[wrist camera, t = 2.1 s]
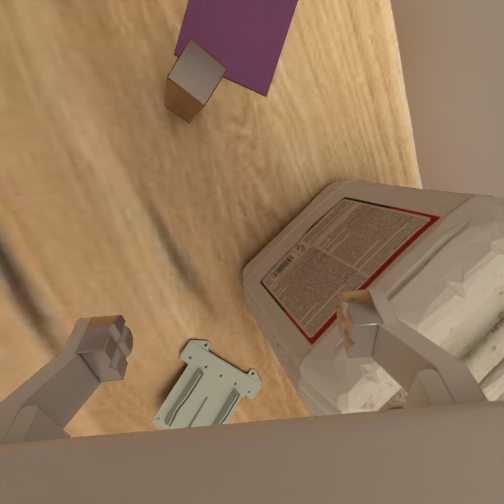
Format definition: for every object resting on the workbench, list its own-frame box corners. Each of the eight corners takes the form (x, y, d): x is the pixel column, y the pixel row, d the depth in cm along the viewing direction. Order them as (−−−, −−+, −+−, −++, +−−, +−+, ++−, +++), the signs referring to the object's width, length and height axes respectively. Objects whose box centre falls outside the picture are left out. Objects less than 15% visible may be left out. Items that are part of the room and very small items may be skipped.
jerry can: (297, 348, 54) (441, 547, 27) (221, 277, 47) (309, 446, 20) (400, 248, 54) (651, 343, 27) (339, 162, 47) (593, 170, 20)
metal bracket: (221, 466, 49) (136, 429, 44) (209, 444, 55) (132, 408, 49) (271, 381, 52) (198, 336, 47) (255, 368, 58) (187, 326, 52)
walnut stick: (189, 123, 41) (204, 106, 27) (164, 105, 39) (166, 77, 26) (204, 99, 40) (227, 68, 26) (179, 79, 39) (190, 37, 25)
